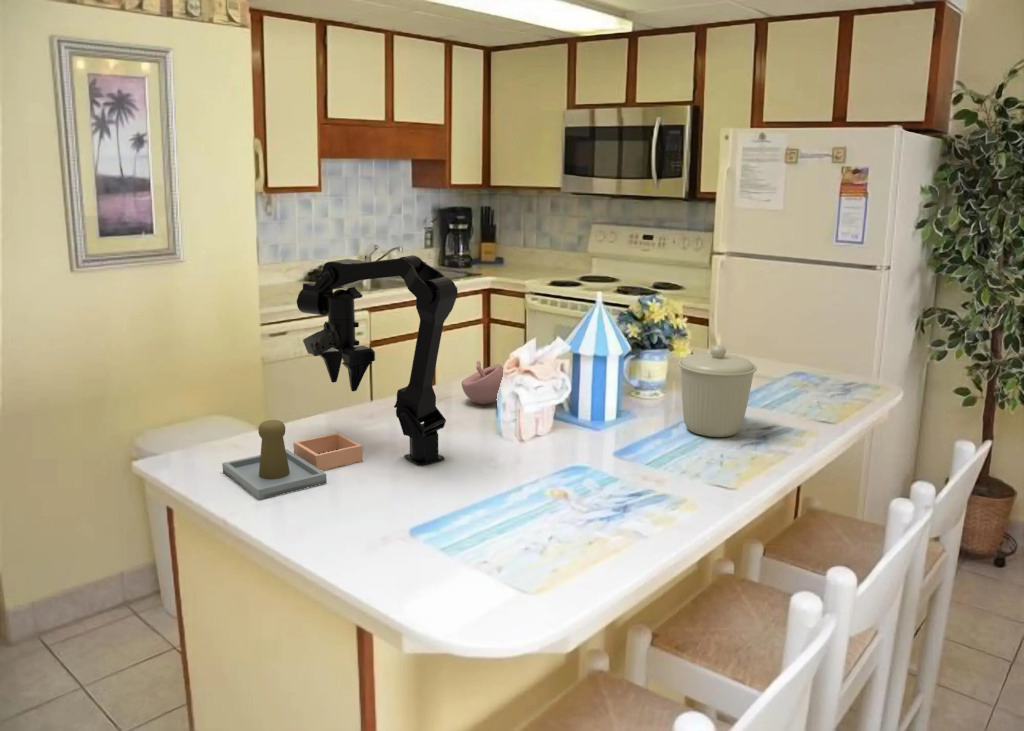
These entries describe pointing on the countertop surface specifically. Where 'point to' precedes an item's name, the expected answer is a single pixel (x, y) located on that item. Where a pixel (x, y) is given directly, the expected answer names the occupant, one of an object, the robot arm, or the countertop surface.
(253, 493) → the tray
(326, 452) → the holder
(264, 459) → the olive tapered piece
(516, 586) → the countertop surface
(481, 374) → the mortar and pestle
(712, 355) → the canister
